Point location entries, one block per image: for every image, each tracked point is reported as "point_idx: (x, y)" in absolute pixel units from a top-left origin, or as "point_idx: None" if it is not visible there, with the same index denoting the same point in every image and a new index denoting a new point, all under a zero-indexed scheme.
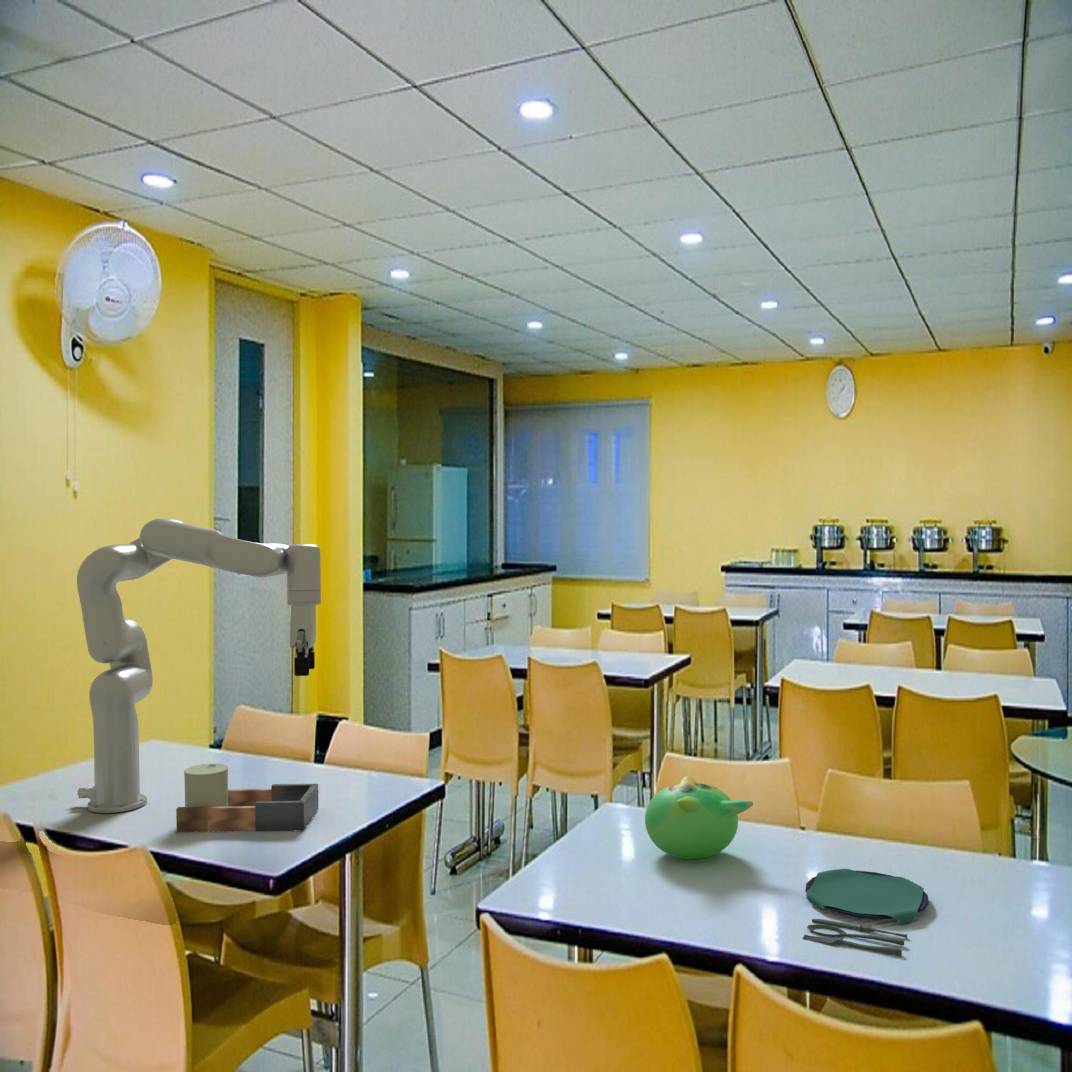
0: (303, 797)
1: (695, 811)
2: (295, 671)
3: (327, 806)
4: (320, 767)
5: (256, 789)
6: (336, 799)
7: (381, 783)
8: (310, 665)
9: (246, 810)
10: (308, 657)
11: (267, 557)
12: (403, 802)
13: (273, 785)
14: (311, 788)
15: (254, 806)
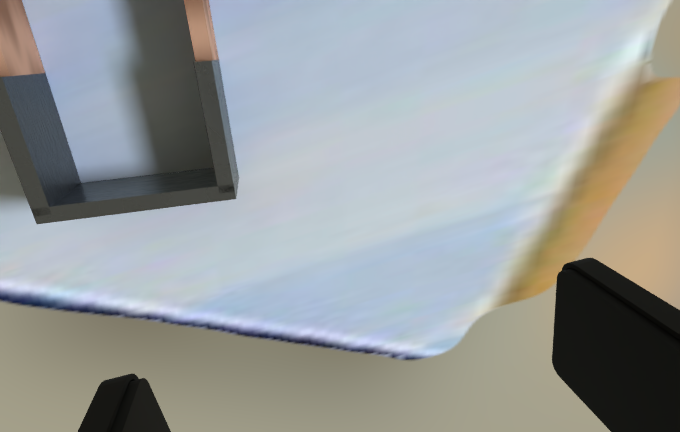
0: (85, 206)
1: None
2: (94, 422)
3: (272, 188)
4: (615, 59)
5: (194, 6)
6: (330, 191)
7: (454, 249)
8: (575, 367)
9: None
10: (651, 422)
11: None
12: (314, 331)
13: (197, 68)
14: (183, 197)
15: (2, 70)
